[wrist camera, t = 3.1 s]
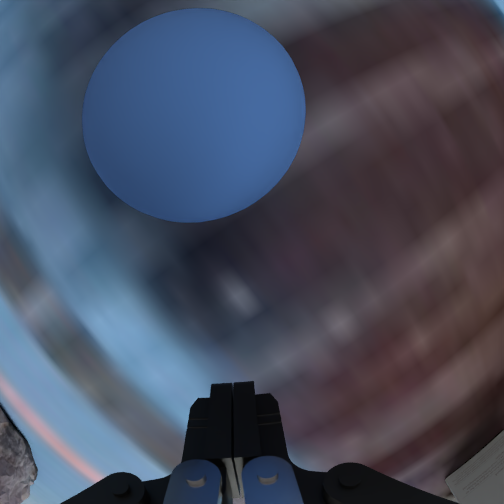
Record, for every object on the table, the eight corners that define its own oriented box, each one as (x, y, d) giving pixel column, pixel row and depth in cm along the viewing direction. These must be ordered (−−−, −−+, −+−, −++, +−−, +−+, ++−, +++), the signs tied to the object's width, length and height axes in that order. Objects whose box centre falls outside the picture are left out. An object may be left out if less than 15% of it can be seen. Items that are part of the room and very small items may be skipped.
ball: (132, 219, 11) (48, 256, 5) (124, 70, 10) (50, 1, 4) (290, 204, 11) (348, 229, 6) (277, 53, 10) (315, -38, 4)
